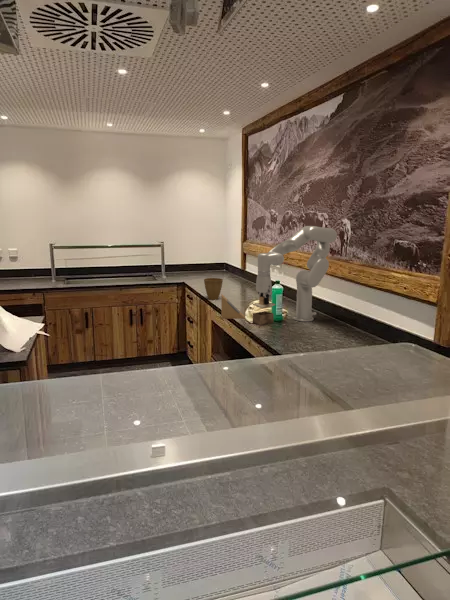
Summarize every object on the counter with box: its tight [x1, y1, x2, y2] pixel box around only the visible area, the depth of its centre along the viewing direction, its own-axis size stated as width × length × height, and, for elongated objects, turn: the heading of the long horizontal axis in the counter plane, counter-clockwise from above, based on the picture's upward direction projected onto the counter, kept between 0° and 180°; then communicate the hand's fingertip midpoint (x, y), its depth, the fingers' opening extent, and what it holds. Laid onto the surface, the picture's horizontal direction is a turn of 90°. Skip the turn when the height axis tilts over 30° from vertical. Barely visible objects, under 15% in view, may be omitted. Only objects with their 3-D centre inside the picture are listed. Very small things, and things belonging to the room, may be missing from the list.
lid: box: [252, 295, 276, 309], centre depth 258 cm, size 11×9×6 cm
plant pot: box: [203, 277, 224, 301], centre depth 332 cm, size 15×15×16 cm
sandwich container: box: [220, 293, 246, 320], centre depth 274 cm, size 9×15×15 cm, turn 92°
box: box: [252, 310, 274, 326], centre depth 259 cm, size 10×8×6 cm
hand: (264, 303), depth 258 cm, fingers closed on lid, 3 cm apart
